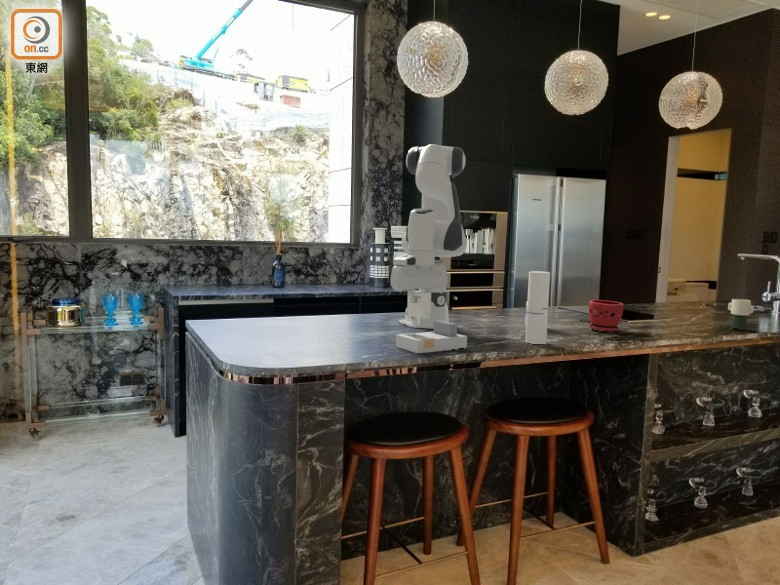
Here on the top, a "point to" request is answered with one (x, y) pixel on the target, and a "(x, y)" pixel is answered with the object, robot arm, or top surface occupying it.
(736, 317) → the character mug
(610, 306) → the plant pot
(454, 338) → the rack
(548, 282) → the white tall box
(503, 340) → the top surface
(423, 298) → the panel
